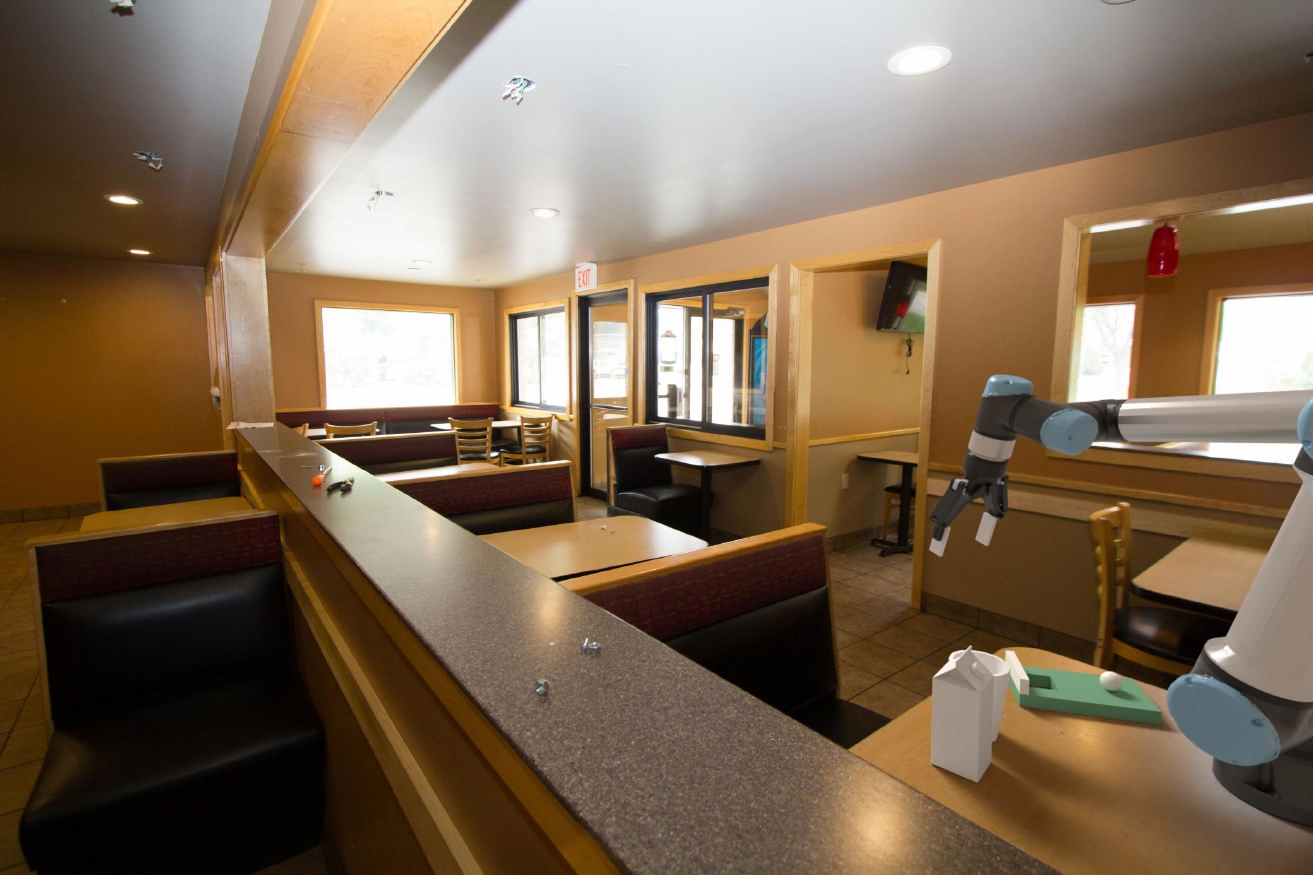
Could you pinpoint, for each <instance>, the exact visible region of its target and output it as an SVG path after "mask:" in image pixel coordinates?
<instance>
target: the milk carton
mask: <svg viewBox="0 0 1313 875" xmlns="http://www.w3.org/2000/svg"><path fill="white" fill-rule="evenodd" d="M965 650H966V651H965V652H964V653H963V654H962V655H961V656H960V657H958V658H956V659H953V660H951V661H949V660H948V661H947V662H946V664H944V665H943V667H942V668H940V670H938V672H937V673H935V675H934V676H933V677H932V687H931V688H932V694H931V695H932V696H931V697H932V698H931V699H932V700H931V701H932V702H931V703H932V705H931V738H930V739H931V740H930V742H931V744H930V746H931V747H930V752H931V753H930V764H931V765H932V764H933V765H935V766H937V767H939V768H941V769H944V770H946V771H949V772H951V773H953V774H956V775H958V776H960V777H962V778H965V779H967V780H970V781H972V782H974V783H976V784H977V783H979V782H980V781H981V778H982V777H983V776H984V774H985V772H986V771H987V770H988V767H989V766H990V765H991V762H992V750H993V749H992V748H993V747H992V746H993V742H992V720H993V689H994V676H993V674H992V673H991V672H990V671H989V670H988V669H987V668H986V667H985V666H984V665H983V664H982V662H981V661H980V660H979V659H978V658H977V657H976V656H975V655H974V654H973V653H972V652H971V650H973V646H972V645H969V646H968V647H967V648H966V649H965Z"/></svg>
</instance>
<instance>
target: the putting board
mask: <svg viewBox="0 0 1313 875" xmlns="http://www.w3.org/2000/svg"><path fill="white" fill-rule="evenodd" d="M1004 657H1005V660H1004V661H1006V662H1007V664H1008V665H1009V667H1010V682H1009V684H1010V685H1009V684H1008V685H1009V687H1010V686H1011V687H1010V689H1011V692H1012V691H1013V692H1012V694H1013V693H1014V694H1013V695H1014V698H1015V697H1016V698H1015V700H1016V702H1017V704H1018V706H1019V707H1024V708H1029V709H1037V710H1046V711H1052V712H1059V713H1066V714H1074V715H1082V716H1089V717H1097V718H1106V719H1112V720H1113V719H1114V720H1120V721H1127V722H1134V723H1135V722H1136V723H1143V724H1151V725H1156V726H1157V725H1158V726H1161V720H1162V719H1161V717H1162V711H1161V709H1159V708H1158V706H1157V705H1156V704H1155V703H1154V702H1153V701H1152V699H1151V698H1150V697H1149V696H1148V695H1147V694H1146V693H1145V691H1144V690H1143V689H1142V688H1141V687H1140V685H1139V684H1138V683H1137V682H1136V681H1135V680H1134V679H1133V678H1132V677H1124V678H1123V676H1120V677H1121V679H1122V681H1123V686H1122V688H1121V689H1120V690H1118V691H1109V690H1107V689H1105V688H1104V687H1103V686H1102V684H1101V682H1100V676H1101V675H1102V674H1096V673H1087V672H1079V671H1071V670H1070V671H1069V670H1063V669H1052V668H1043V667H1034V666H1027V665H1022V663H1021V662H1020V660H1019V658H1018V656H1017V654H1016V653H1015V651H1014V650H1005V656H1004ZM1133 680H1134V681H1133ZM1029 685H1034V686H1029ZM1036 686H1040V687H1036ZM1044 687H1047V688H1044Z"/></svg>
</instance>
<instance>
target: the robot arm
mask: <svg viewBox="0 0 1313 875" xmlns="http://www.w3.org/2000/svg"><path fill="white" fill-rule="evenodd" d="M1033 389H1034V384H1033V382H1032V381H1030V380H1028V379H1027V378H1024V377H1021V376H1016V375H1010V374H994V375H992V376H990V377H989V378H988V380H987V383H986V385H985V388H984V390H983V393H982V394H981V398H980V399H981V400H980V404H979V407H978V411H977V415H976V420H975V423H974V425H973V428H972V433H971V436H970V439H969V443H968V446H967V448H968V450H966V451H965V456H964V458H963V461H962V468H963V470H964V473H965V474H964V476H963V477H962V479H960V478H957V477H955V476H953V477H952V478H951V480H950V483H949V485H948V488H947V489H946V491H945V492H944V493H943V495H942V497H941V499H940V500H939V502H938V503H937V505H936V506H935V508H934V509H933V511H932V512H931V514H930V516H929V517H928V521H929V522H930V523H932V524H934V528H933V532H932V536H931V542H930V545H929V549H928V550H929V551H930V552H932V553H934V554H935V555H937V556H938V557H943V556H944V552H945V549H946V545H947V542H948V538H949V535H950V532H951V526H950V525H951V523H952V522H953V521H954V520H956V518H957V516H959V515H960V513H961V512H962V511H963V510H964V509H965V508H966V506H967V505H968V504H972V503H973V502H974V501H975V500H978V499H980V498H981V499H982V502H983V504H984V506H985V509H986V511H987V512H986V511H985V512H983V514H982V516H981V520H980V524H979V526H978V530H977V533H976V535H975V536H976V537H975V541H977V542H979V543H980V544H982V545H983V546H985V547H988V546H990V542H991V540H992V537H993V533H994V531H995V528H996V524H997V521H998V519H1000V520H1003V519H1005V516H1006V514H1007V513H1008V512H1009V496H1008V495H1009V494H1008V483H1009V479H1010V476H1009V474H1007V473H1006V472H1007V469H1008V466H1009V464H1010V461H1009V460H1008V459H1010V458H1011V457H1012V454H1013V451H1014V449H1015V448H1014V447H1015V444H1016V441H1017V438H1018V436H1019V437H1022V438H1024V439H1027V440H1029V441H1031V442H1033V443H1036V444H1038V445H1040V446H1042V447H1045V448H1047V449H1049V450H1051V451H1053V452H1059V453H1061V454H1064V455H1067V456H1078V455H1080V454H1082V453H1083V452H1084V451H1087V450H1088V449H1089V448H1090V447H1091V445H1093V443H1102V442H1108V443H1117V442H1118V443H1120V442H1121V443H1129V442H1132V443H1133V442H1135V443H1136V442H1137V443H1139V442H1140V443H1141V442H1142V443H1143V442H1145V443H1152V442H1153V443H1211V444H1212V443H1215V444H1216V443H1219V444H1220V443H1222V444H1223V443H1224V444H1225V443H1227V444H1228V443H1229V444H1231V443H1232V444H1285V445H1286V444H1288V445H1289V444H1299V445H1301V447H1300V450H1299V451H1298V453H1297V456H1296V457H1295V460H1294V462H1293V464H1292V468H1293V469H1294V471H1295V472H1296V474H1297V475H1298V477H1299V478H1300V479H1301V480H1302V485H1301V486H1300V489H1299V491H1298V493H1297V494H1296V497H1295V499H1294V501H1292V504H1291V505H1290V506H1291V507H1290V508H1289V510H1288V512H1287V514H1286V516H1285V519H1284V521H1283V522H1282V524H1281V526H1280V529H1279V530H1278V532H1277V535H1276V536H1275V539H1274V540H1273V542H1272V545H1271V546H1270V548H1269V550H1268V551H1267V554H1266V556H1265V558H1264V561H1263V562H1262V564H1261V567H1260V568H1259V571H1258V572H1257V574H1256V576H1255V577H1254V580H1253V582H1252V584H1251V586H1250V588H1249V590H1248V592H1247V594H1246V596H1245V598H1244V600H1243V602H1242V604H1241V606H1240V608H1239V610H1238V612H1237V614H1236V615H1235V616H1236V617H1235V618H1234V620H1233V622H1232V623H1231V626H1230V628H1229V630H1228V632H1227V634H1226V636H1222V637H1221V636H1220V637H1214V638H1211V639H1208V640H1207V641H1206V643H1205V644H1204V646H1203V648H1202V650H1201V652H1200V654H1199V656H1198V658H1197V660H1196V662H1195V663H1194V665H1193V668H1192V669H1191V671H1190V673H1187V674H1183V675H1180V676H1179V677H1177V678H1176V680H1174V681H1173V682H1172V683H1170V685H1169V687H1168V689H1167V692H1166V704H1167V705H1166V706H1167V709H1168V711H1169V714H1170V717H1171V718H1172V719H1173V720H1174V721H1175V722H1174V723H1175V725H1176V727H1177V728H1178V730H1179V731H1180V732H1181V733H1182V734H1183V736H1185V737H1186V739H1187V740H1188V741H1189V742H1191V743H1192V744H1193V745H1194V746H1195V747H1196V748H1198V749H1200V750H1201V751H1202V752H1204V753H1205V754H1207V755H1209V756H1210V757H1213V758H1212V773H1213V775H1214V778H1215V779H1216V780H1217V781H1218V782H1219V783H1220V784H1221V785H1222V786H1223V787H1224V788H1225V789H1226V790H1227V791H1229V792H1230V793H1231V794H1233V795H1234V796H1236V797H1237V798H1239V799H1241V800H1242V801H1244V802H1246V803H1247V804H1250V805H1252V806H1253V807H1255V808H1257V809H1259V810H1261V811H1263V812H1265V813H1269V814H1271V815H1274V816H1276V817H1279V818H1281V819H1284V820H1287V821H1291V822H1294V823H1297V824H1301V825H1305V826H1309V827H1313V389H1298V390H1295V389H1294V390H1277V391H1258V392H1257V391H1255V392H1239V393H1218V394H1200V395H1199V394H1198V395H1197V394H1196V395H1179V396H1178V395H1177V396H1161V397H1160V396H1159V397H1158V396H1157V397H1147V398H1146V397H1143V398H1141V397H1140V398H1129V399H1127V398H1125V399H1124V398H1122V399H1115V398H1108V399H1106V398H1105V399H1098V400H1089V401H1075V402H1074V401H1073V402H1064V403H1062V402H1061V403H1059V402H1054V401H1050V400H1047V399H1043V398H1040V397H1038V396H1036V395H1033Z"/></svg>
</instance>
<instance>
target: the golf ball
mask: <svg viewBox="0 0 1313 875" xmlns="http://www.w3.org/2000/svg"><path fill="white" fill-rule="evenodd" d="M1100 675H1101V676H1100V682H1101V684H1102V686H1103V687H1104V688H1105V689H1107V690H1109V691H1118V690H1120V689H1121V688H1122V686H1123V681H1122V679H1121V677H1122V676H1120V675H1119V674H1118V673H1116V672H1114V671H1104V672H1103V673H1101V674H1100Z"/></svg>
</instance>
